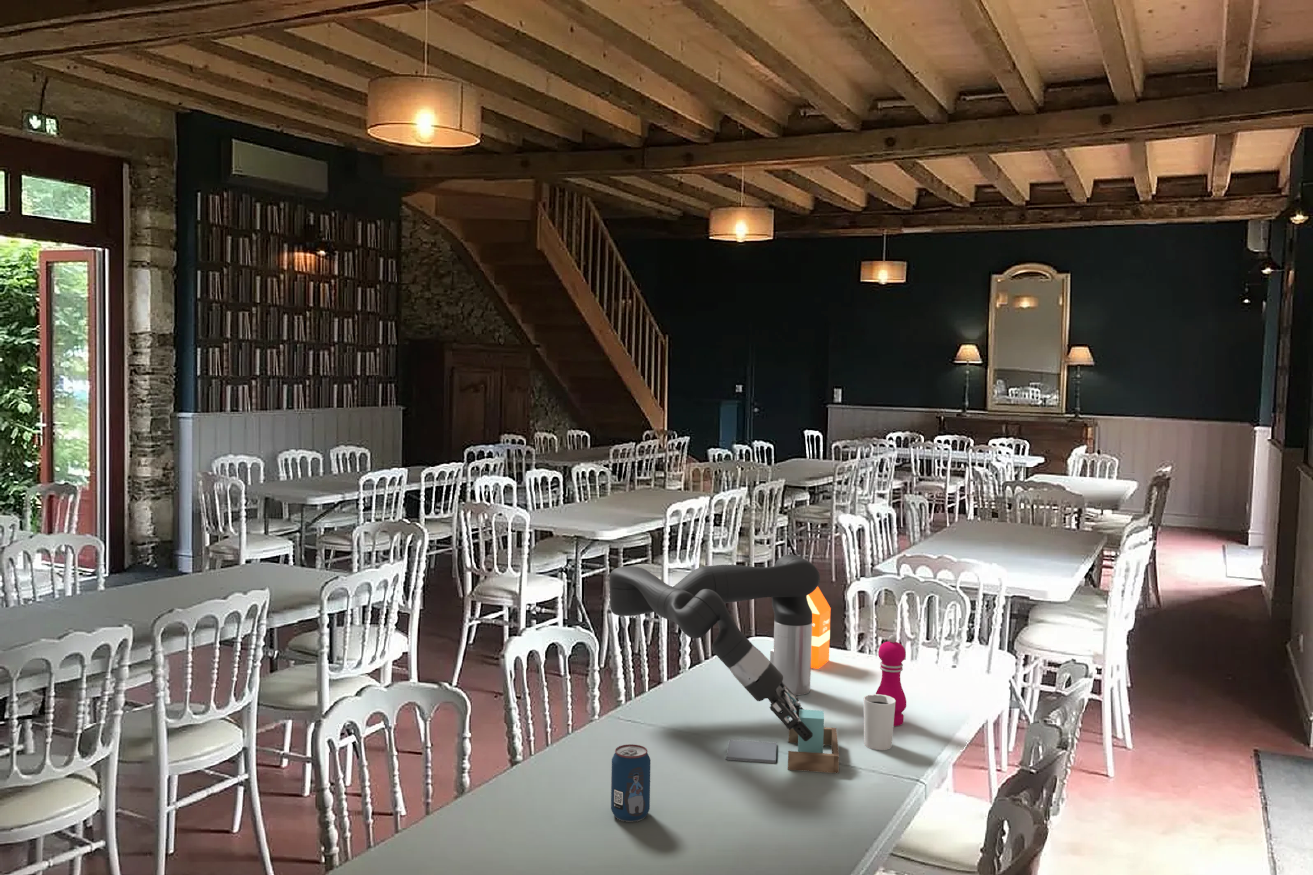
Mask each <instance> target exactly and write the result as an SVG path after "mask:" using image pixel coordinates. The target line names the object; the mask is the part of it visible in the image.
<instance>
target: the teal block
mask: <svg viewBox="0 0 1313 875" xmlns="http://www.w3.org/2000/svg"><path fill="white" fill-rule="evenodd" d="M803 709H804V708H803ZM803 709H799V718H800V720H801V721H802V722H803V723H804V724H805V725H806V726H807V728H808V729H809V730H810V731H811V732H812V733H813V736H812V737H811V738H810V739H809V740H808V741H804V740H803V739H802V738H801V737H800V736H799V735H798V743H797V752H812V753H824V745H823V736H824V727H825V712H824V710H816V709H815V710H814V709H804V710H803Z"/></svg>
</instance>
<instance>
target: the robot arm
mask: <svg viewBox="0 0 1313 875" xmlns="http://www.w3.org/2000/svg"><path fill="white" fill-rule="evenodd" d="M820 579H821V576H820V572H819V569H817V567H816V566H815V565H814V564H813V563H812V562H811V561H809V560H807V559H805V558H803V557H801V556H799V555H795V554H791V553H790V554H784V555H782V556H780V557H779V558H778V559H777V560H776V561H775V563H774V565H772V566H764V567H759V566H751V565H750V566H749V565H741V564H740V565H738V564H716V565H715V564H714V565H706V566H700V567H698V568H696V569H695V568H694V570H692V571H691V572H689V573H688V574H687V575H686V576H684V577H683V578H682V579H680V580H679V581H678V582H677V583H676V584H674V585H673V586H671V585H669V584H667V583H666V582H664V581H663V580H661V578H659V577H657V575H655V574H653V573H651V572H650V571H648V570H647V569H645V568H642V567H640V566H634V565H632V566H631V565H627V566H619V567H617V568H613V570H611V572H610V574H609V581H608V585H609V603H610V604H609V605H610V611H611V613H612V614H613V615H614V616H615V615H616V616H618V617H620V616H621V617H632V616H638V615H645V614H650V613H655V614H656V615H658V616H659V617H661V618H663V619H665V620H668V621H669V622H674V624H676V625H677V626H678V627H679V629H680V630H681V631H682V632H683V633H684V635H686V636H687V637H688V638H691V639H699V638H702V637H704V636H705V635H706V634H707V633H708V632H709V631H710V630H711V629H712V628H713V627H714V626H715V625H716V624H717V626H718V633H717V636H716V638H715V639H714V641H713V642H712V645H711V650H712V652H713V653H714V654H715V655H716V657H717V658H718V659H719V660H720V661H721V662H722V663H723V664H724V665H725V666H726V667H727V669H728V670H729V671H730V672H731V674H732V675H733V677H734V678H735V679H736V681H738V682H739V683H740V685H741V686H742V687H743V688H744V689H745V691H747V692H748V693H749V694H750V696H751V697H752V698H754V700H755V701H757V702H762V701H764V700H765V699H767V700H768V701H769V702H770V706H769V709H770V711H772V713H773V714H775V716H776V717H777V718H778V719H779V720H780V722H781V723H782V724H783V725H784V726H785V727H786V729H788V731H789V730H790V729H794V730H795V731H796V732H797V734H798V735H799V736H800V737H801V738H802V739H803V740H804V741H808V740H809V739H810V738H811V737H812V736H813V733H812V732H811V731H810V730H809V729H808V728H807V726H806V725H805V724H804V723H803V722H802V721H801V720H800V718H799V709H803V710H805V709H804V708H803V707H802V705H801V703H800V702H799V701H800V699H799V698H798V697H797V696H802V695H807V694H808V693H809V692H811V677H812V676H811V675H812V668H811V646H812V611H811V609H810V607H809V604H808V601H807V595H809V594H810V593H812V592H813V591H814V590H815V589H816V588H817V586H818V587H819V584H820V581H821V580H820ZM763 598H764V599H765V598H771V606H772V610H773V614H774V616H773V617H774V618H773V619H774V626H773V648H772V649H770V654H769V658H768V657H767V656H765V654H764V653H763V652H762V651H761V650H760V649H759V648H757V647H756V646H755V645H754V644H753V643H752V642H751V641H750V640H749V639H748V637H746V635H745V634H744V633H743V632H742V631H741V630H740V629H739V627H738V626H737V624H736V622H735V620H734V619H733V617H732V616H731V613H730V612H729V609H728V607H727V605H726V604H729V603H737V602H746V601H752V600H757V599H763ZM790 718H791V720H790Z"/></svg>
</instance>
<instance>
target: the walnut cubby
mask: <svg viewBox="0 0 1313 875" xmlns="http://www.w3.org/2000/svg"><path fill="white" fill-rule="evenodd" d="M837 731H838V730H837V727H827V726H826V727H825V726H824V736H823V746H830V747H831V748H830V749H831V753H828V752H827V753H824V752H823V753H812V752H798V750H797V751H796V750H795V751H794V750H788V751H787V752H788V755H787V770H788V771H800V772H802V771H803V772H812V773H814V772H815V773H828V774H829V773H831V774H839V770H840V753H839V752H840V751H839V742H838V732H837ZM788 744H798V734H797V732H796V731H795V730H794V729H790V730H789V729H788Z"/></svg>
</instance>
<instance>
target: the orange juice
mask: <svg viewBox="0 0 1313 875" xmlns="http://www.w3.org/2000/svg"><path fill="white" fill-rule="evenodd" d="M807 601H808V604H809V607H810V609H811V611H812V646H811V669H817V670H818V669H820V668H822V667H823V666H825V664H826V663H828V662H829V660H830V641H831V640H830V639H831V609H832V607H830V605H829V602H828V601H827V599H826V598H825V596H824V594H823V592H822V591H821V589H820V587H819V585H818V586H817V588H816V589H815V590H814V591H813V592H812V593H810V594H809V595H807Z"/></svg>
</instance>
